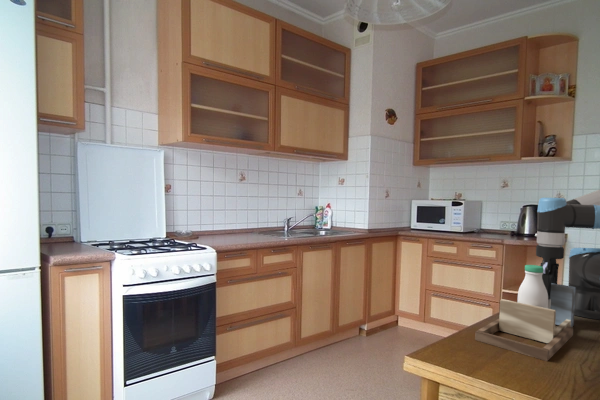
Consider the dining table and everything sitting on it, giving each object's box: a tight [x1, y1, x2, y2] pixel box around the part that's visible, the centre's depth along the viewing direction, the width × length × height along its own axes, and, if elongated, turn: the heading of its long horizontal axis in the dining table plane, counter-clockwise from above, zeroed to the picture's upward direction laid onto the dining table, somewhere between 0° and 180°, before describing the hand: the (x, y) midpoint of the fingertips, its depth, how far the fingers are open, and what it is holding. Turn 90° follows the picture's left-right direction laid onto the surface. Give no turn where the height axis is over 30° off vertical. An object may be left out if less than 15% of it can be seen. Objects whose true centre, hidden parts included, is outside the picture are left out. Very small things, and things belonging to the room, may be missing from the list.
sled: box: [498, 283, 575, 344], centre depth 116 cm, size 24×14×12 cm, turn 133°
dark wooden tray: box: [474, 318, 574, 362], centre depth 108 cm, size 27×17×2 cm, turn 133°
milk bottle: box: [516, 264, 548, 309], centre depth 111 cm, size 8×8×20 cm
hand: (546, 317), depth 123 cm, fingers closed on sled, 4 cm apart
